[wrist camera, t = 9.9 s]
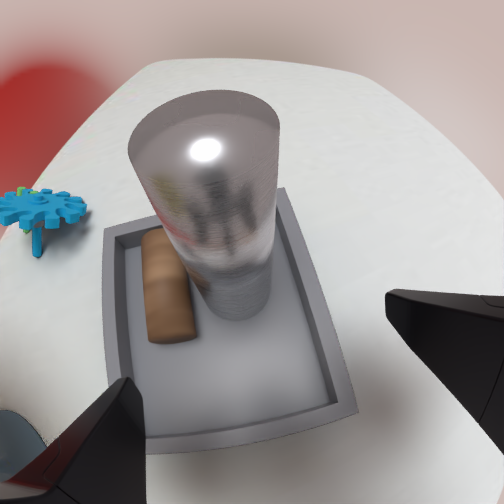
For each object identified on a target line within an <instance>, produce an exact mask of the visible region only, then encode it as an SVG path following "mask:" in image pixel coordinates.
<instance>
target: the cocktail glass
mask: <svg viewBox="0 0 504 504" xmlns="http://www.w3.org/2000/svg"><path fill="white" fill-rule="evenodd" d="M46 448H47V447H46V446H45V444H44V442H43V441H42V439H41V438H40V436H39V435H38V433H37V432H36V431H35V430H34V428H33V427H32V426H31V425H30V424H29V423H28V422H27V421H26V420H25V419H24V418H23V417H21V416H20V415H18V414H17V413H14V412H12V411H8V410H0V482H3V481H6V480H8V479H10V478H11V477H13V476H14V475H15V474H16V473H18V472H19V471H20V470H21V469H22V468H24V467H25V466H26V465H27V464H29V463H30V462H31V461H32V460H33V459H35V458H36V457H37V456H38V455H39V454H40V453H42V452H43V451H44V450H45V449H46Z"/></svg>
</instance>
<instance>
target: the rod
mask: <svg viewBox="0 0 504 504" xmlns="http://www.w3.org/2000/svg"><path fill="white" fill-rule="evenodd" d="M141 259H142V279H143V293H144V306H145V317H146V326H147V335H148V341H149V342H150V343H154V344H176V343H181V342H186V341H189V340H192V339H194V338H195V337H196V336H197V335H196V329H195V323H194V317H193V311H192V305H191V298H190V292H189V285H188V278H187V271H186V268H185V266H184V265H183V263H182V261H181V259H180V257H179V256H178V254H177V252H176V250H175V248H174V246H173V245H172V243H171V241H170V239H169V237H168V235H167V233H166V232H165V230H164V228H161V229H155V230H151V231H149V232H147V233H146V234H145V235H144V236H143V237H142V239H141Z"/></svg>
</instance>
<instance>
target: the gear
mask: <svg viewBox="0 0 504 504" xmlns="http://www.w3.org/2000/svg"><path fill="white" fill-rule="evenodd" d="M86 207H87V204H83V203H82V198H81V197H70V193H68V192H65V191H63V192H59V193H56V194H52V190H50V189H42V191H41V192H39V193H38V191H33V189H26V188H25V187H18V188H17V196H16V192H7V193H5V199H4V198H3V197H0V223H1V224H2V225H3V226H8V225H11V224H12V223H15V222H18V221H19V228H21V229H23V232H25V233H27V232H29V230H31V229H32V253H33V256H34V257H40V256H41V255H42V227H43V226H44V225H45V228H47V229H56V228H59V224H60V217H64V218H66V219H65V222H66V223H69V224H72V223H76V222H79V218H80V216H83V215H85V213H86Z"/></svg>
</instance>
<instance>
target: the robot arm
mask: <svg viewBox="0 0 504 504" xmlns="http://www.w3.org/2000/svg"><path fill="white" fill-rule="evenodd" d="M385 311H386V317H387V319H388V320H389V322H390V323H391V324H392V326H393V327H394V328H395V329H396V331H397V332H398V333H399V335H400V336H401V337H402V339H403V340H404V341H405V343H406V344H407V345H408V346H409V347H410V349H411V350H412V351H413V352H414V353H415V354H416V355H417V356H418V357H419V358H420V359H421V360H422V361H423V363H424V364H425V365H426V366H427V367H428V368H429V369H430V370H431V371H432V372H433V373H434V374H435V375H436V377H437V378H438V379H439V380H440V381H441V382H442V383H443V384H444V385H445V386H446V388H447V389H448V390H449V391H450V392H451V393H452V394H453V395H454V396H455V398H456V399H457V400H458V401H459V402H460V403H461V404H462V406H463V407H464V408H465V409H466V410H467V411H468V412H469V414H470V415H471V416H472V417H473V418H474V419H475V421H476V422H477V423H479V425H480V427H481V428H482V429H483V430H484V431H485V433H486V434H487V435H488V436H489V437H490V439H491V440H492V441H493V442H494V443H495V445H496V446H497V447H498V448H499V450H500V451H501V452H502V453H503V455H504V296H487V295H480V296H479V295H471V294H457V293H443V292H430V291H417V290H405V289H393V290H391V291H389V292H387V293H386V294H385ZM0 504H147V501H146V432H145V420H144V407H143V398H142V395H141V393H140V391H139V390H138V388H137V387H136V385H135V383H134V382H133V380H132V379H131V378H130V377H128V376H127V377H122V378H118V379H117V380H116V381H115V382H114V383H113V384H112V385H111V386H110V387H109V388H108V389H107V390H106V391H105V392H104V393H103V394H102V395H101V396H100V397H99V398H98V399H97V400H95V401H94V402H93V403H92V404H91V405H90V406H89V407H88V408H87V409H86V410H85V411H84V412H83V413H82V414H81V415H80V416H79V417H78V418H77V419H76V420H75V421H74V422H73V423H72V424H71V425H70V426H69V427H68V428H67V429H66V430H65V431H64V432H63V433H62V434H61V435H60V436H59V438H56V439H55V440H54V441H53V442H52V443H51V444H50V445H49V446H48V447H47V448H46V449H45V450H44V451H43V452H42V453H40V454H39V455H38V456H37V457H36V458H35V459H33V460H32V461H31V462H30V463H29V464H27V465H26V466H25V467H24V468H22V469H21V470H20V471H19V472H18V473H16V474H15V475H14V476H13V477H11V478H10V479H8V480H6V481H3V482H0Z"/></svg>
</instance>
